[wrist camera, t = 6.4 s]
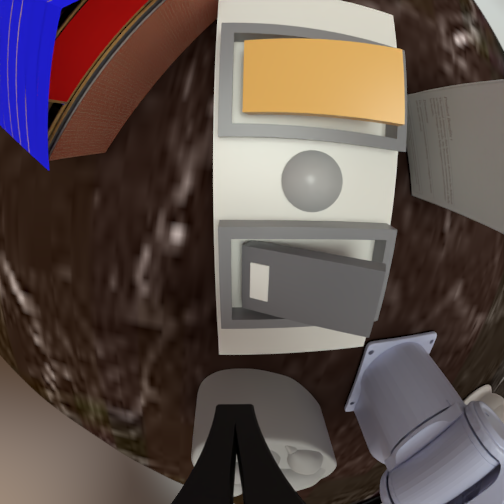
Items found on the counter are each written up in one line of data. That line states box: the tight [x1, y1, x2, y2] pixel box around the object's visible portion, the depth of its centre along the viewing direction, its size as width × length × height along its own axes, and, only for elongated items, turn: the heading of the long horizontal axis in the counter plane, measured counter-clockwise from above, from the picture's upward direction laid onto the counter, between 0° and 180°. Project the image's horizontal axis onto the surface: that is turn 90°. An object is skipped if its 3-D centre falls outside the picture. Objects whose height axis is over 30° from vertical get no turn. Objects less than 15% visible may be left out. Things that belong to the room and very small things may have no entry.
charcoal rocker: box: [242, 240, 386, 338], centre depth 14 cm, size 4×7×1 cm, turn 89°
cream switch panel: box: [213, 0, 407, 355], centre depth 15 cm, size 22×10×4 cm, turn 179°
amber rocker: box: [242, 38, 405, 126], centre depth 10 cm, size 4×7×1 cm, turn 89°
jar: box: [463, 385, 504, 424], centre depth 23 cm, size 11×10×15 cm
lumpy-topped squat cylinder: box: [191, 369, 337, 496], centre depth 20 cm, size 10×13×9 cm
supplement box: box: [406, 79, 504, 234], centre depth 10 cm, size 7×7×13 cm
